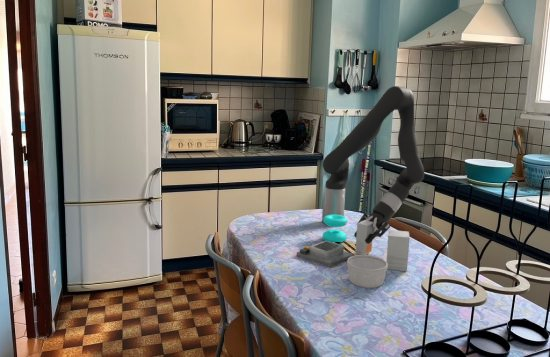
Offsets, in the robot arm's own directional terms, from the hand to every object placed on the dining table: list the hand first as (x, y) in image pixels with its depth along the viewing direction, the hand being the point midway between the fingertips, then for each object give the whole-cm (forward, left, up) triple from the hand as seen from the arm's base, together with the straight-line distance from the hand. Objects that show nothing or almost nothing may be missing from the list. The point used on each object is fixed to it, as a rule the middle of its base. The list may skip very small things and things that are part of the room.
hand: (361, 239), depth 177 cm
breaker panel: (-8, -12, -6) cm, 15 cm away
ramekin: (+15, -20, -6) cm, 25 cm away
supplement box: (+16, -1, -6) cm, 17 cm away
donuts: (-17, +7, -6) cm, 20 cm away
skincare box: (0, +2, -6) cm, 6 cm away
